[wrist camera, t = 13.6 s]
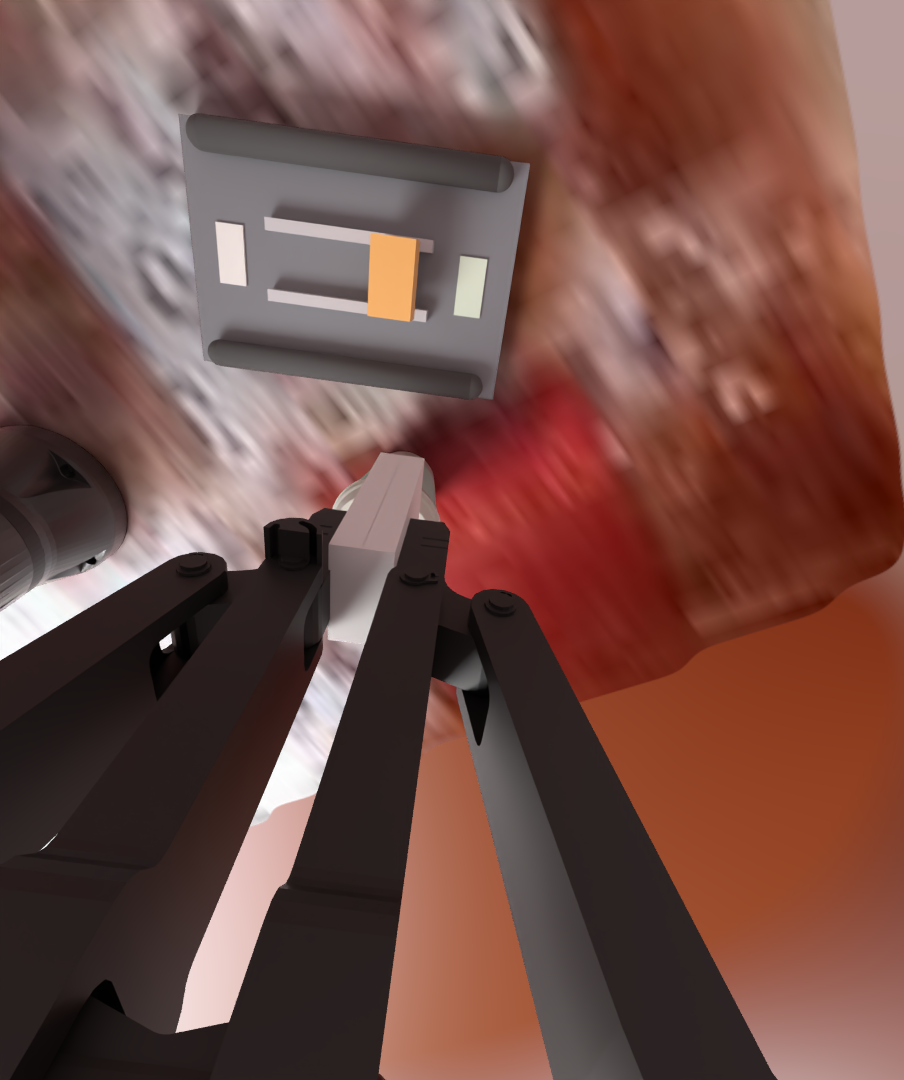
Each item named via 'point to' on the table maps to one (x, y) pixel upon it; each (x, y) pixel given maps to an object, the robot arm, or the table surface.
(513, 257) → the slide switch panel
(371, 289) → the lever
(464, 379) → the pair of grey bars
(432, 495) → the coffee cup
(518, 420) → the table surface
